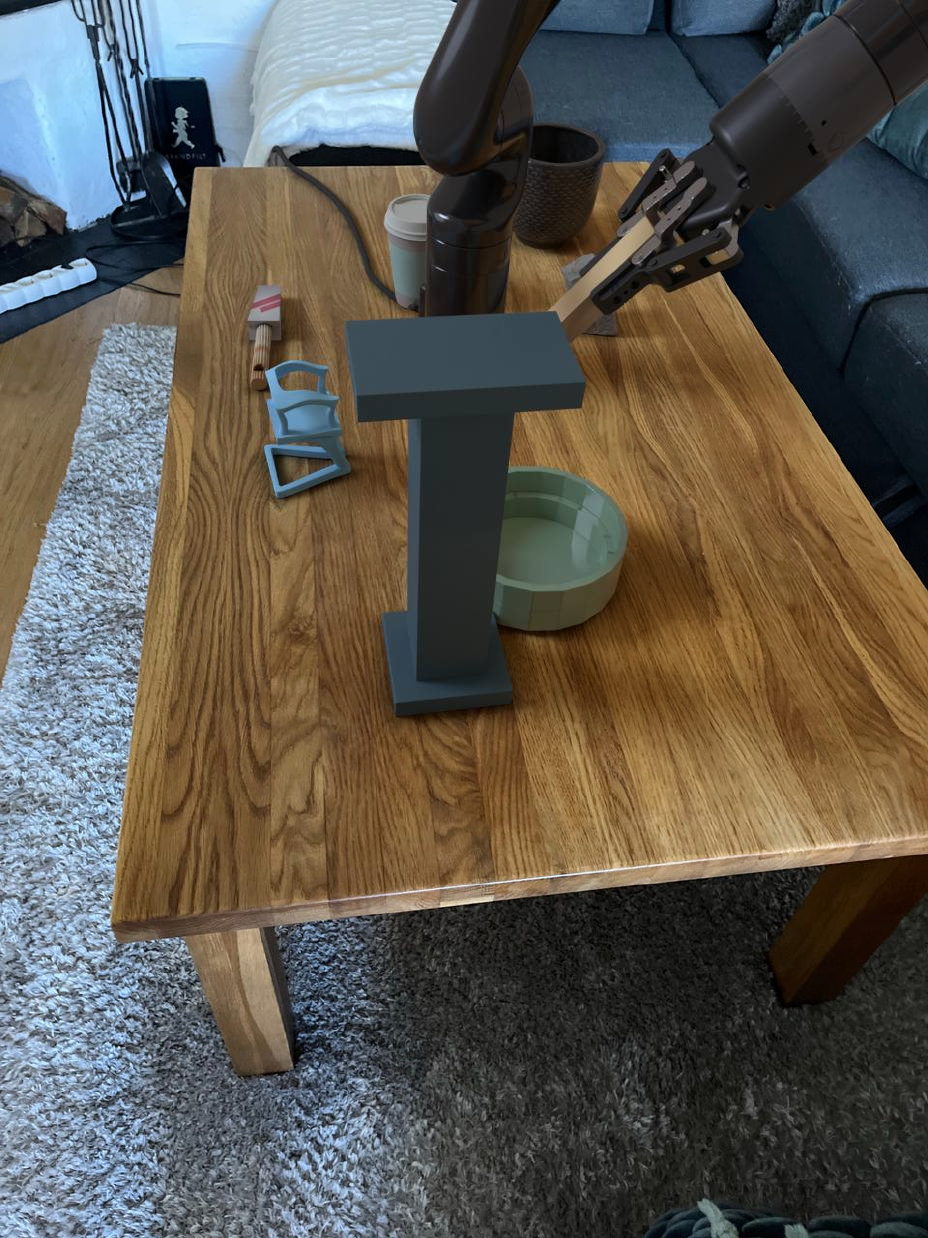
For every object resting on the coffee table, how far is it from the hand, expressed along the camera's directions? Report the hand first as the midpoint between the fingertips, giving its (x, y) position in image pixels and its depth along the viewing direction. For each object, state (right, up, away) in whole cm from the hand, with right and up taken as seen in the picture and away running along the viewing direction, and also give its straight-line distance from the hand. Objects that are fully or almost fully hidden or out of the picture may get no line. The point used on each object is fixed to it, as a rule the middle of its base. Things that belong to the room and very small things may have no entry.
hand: (592, 294), depth 69 cm
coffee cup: (-15, +18, +53) cm, 58 cm away
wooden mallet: (-3, -3, +3) cm, 5 cm away
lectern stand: (-11, -28, +14) cm, 33 cm away
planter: (+2, +31, +65) cm, 72 cm away
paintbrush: (-34, +10, +45) cm, 57 cm away
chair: (-26, -8, +30) cm, 40 cm away
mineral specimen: (+6, +14, +51) cm, 53 cm away
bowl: (-3, -19, +22) cm, 29 cm away
